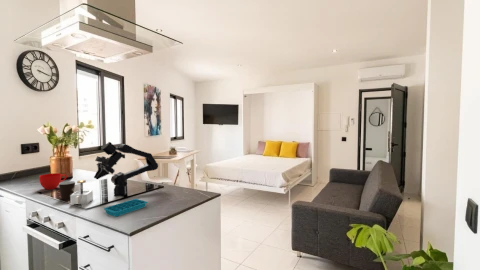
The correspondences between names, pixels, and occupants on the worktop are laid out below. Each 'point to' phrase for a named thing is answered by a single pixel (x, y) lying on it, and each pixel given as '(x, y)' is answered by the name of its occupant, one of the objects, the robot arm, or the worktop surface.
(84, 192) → the plunger
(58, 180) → the ceramic cup
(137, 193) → the worktop surface
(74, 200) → the press body
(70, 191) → the coffee mug
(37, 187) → the worktop surface
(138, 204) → the ice cube tray
